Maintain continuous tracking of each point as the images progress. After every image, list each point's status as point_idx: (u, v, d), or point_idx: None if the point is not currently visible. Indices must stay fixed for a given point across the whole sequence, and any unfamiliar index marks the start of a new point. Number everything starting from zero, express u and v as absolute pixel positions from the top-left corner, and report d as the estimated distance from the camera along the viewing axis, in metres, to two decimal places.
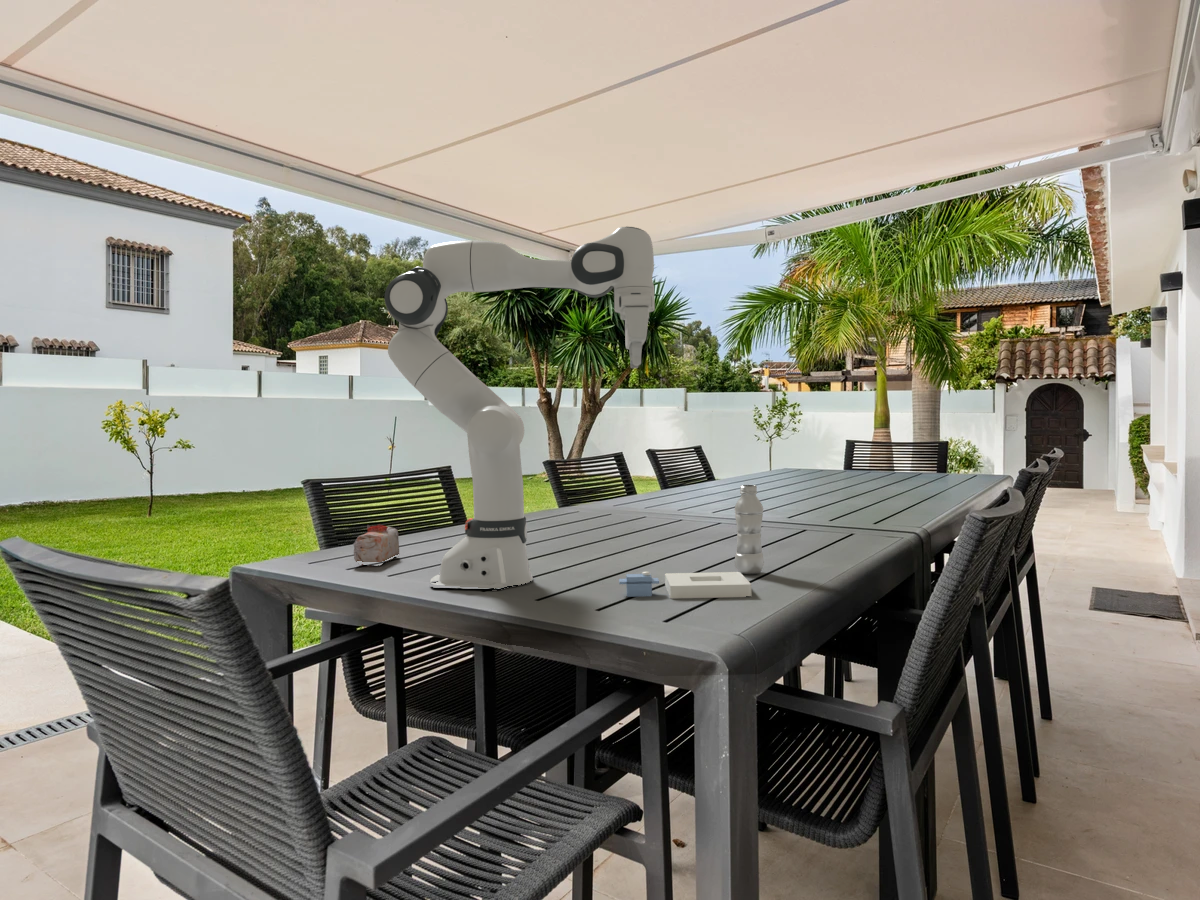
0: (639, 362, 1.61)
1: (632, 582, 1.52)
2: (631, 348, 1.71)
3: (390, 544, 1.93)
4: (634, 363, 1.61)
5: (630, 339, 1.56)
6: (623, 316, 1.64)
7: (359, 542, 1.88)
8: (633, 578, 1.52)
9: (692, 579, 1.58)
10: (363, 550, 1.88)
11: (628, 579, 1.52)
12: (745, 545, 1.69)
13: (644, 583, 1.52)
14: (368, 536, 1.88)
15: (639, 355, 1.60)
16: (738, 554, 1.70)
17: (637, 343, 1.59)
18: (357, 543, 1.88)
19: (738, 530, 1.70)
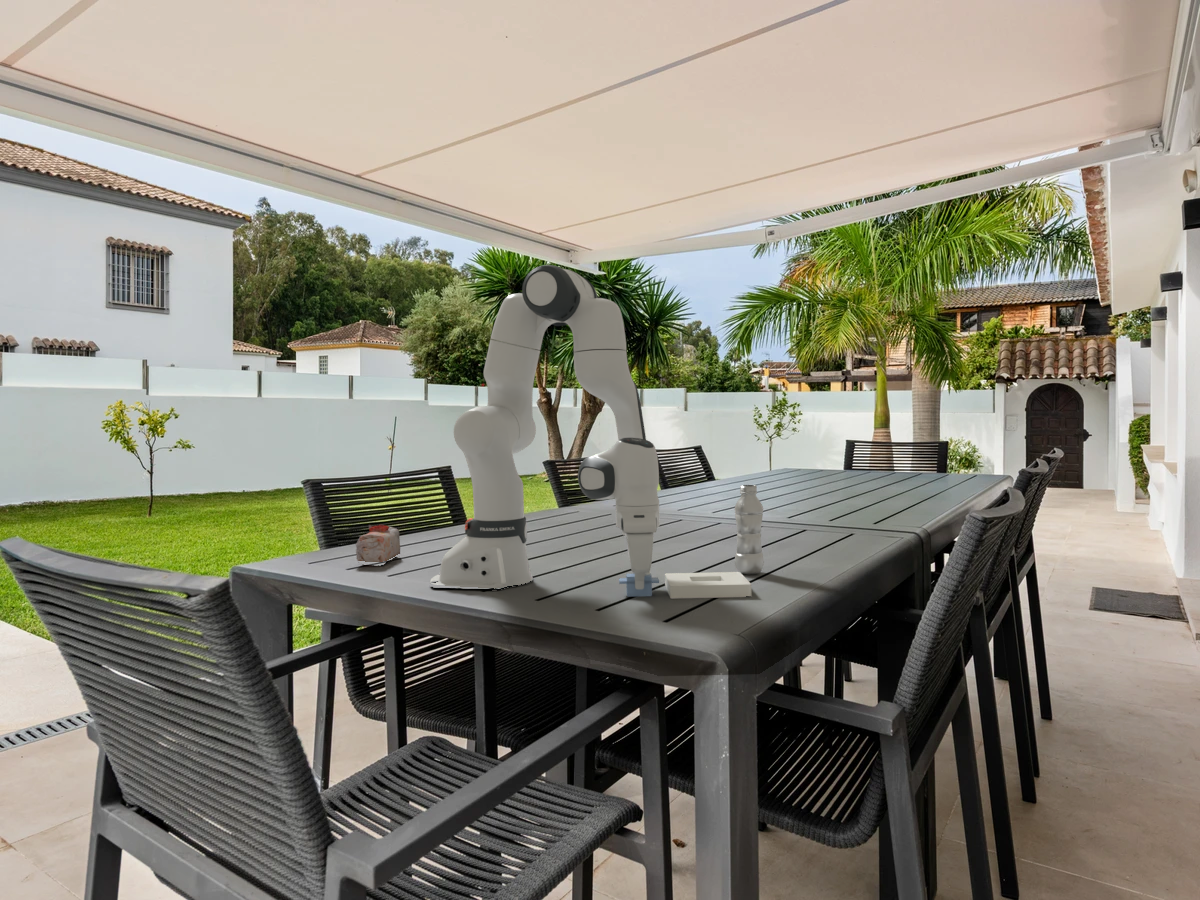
0: (642, 586, 1.50)
1: (632, 582, 1.52)
2: None
3: (392, 544, 1.93)
4: (637, 587, 1.50)
5: (633, 571, 1.44)
6: (625, 534, 1.51)
7: (361, 542, 1.88)
8: (633, 578, 1.52)
9: (692, 579, 1.58)
10: (366, 550, 1.88)
11: (628, 578, 1.52)
12: (745, 545, 1.69)
13: (644, 583, 1.52)
14: (371, 536, 1.88)
15: (642, 579, 1.50)
16: (738, 554, 1.70)
17: None
18: (360, 543, 1.88)
19: (738, 530, 1.70)
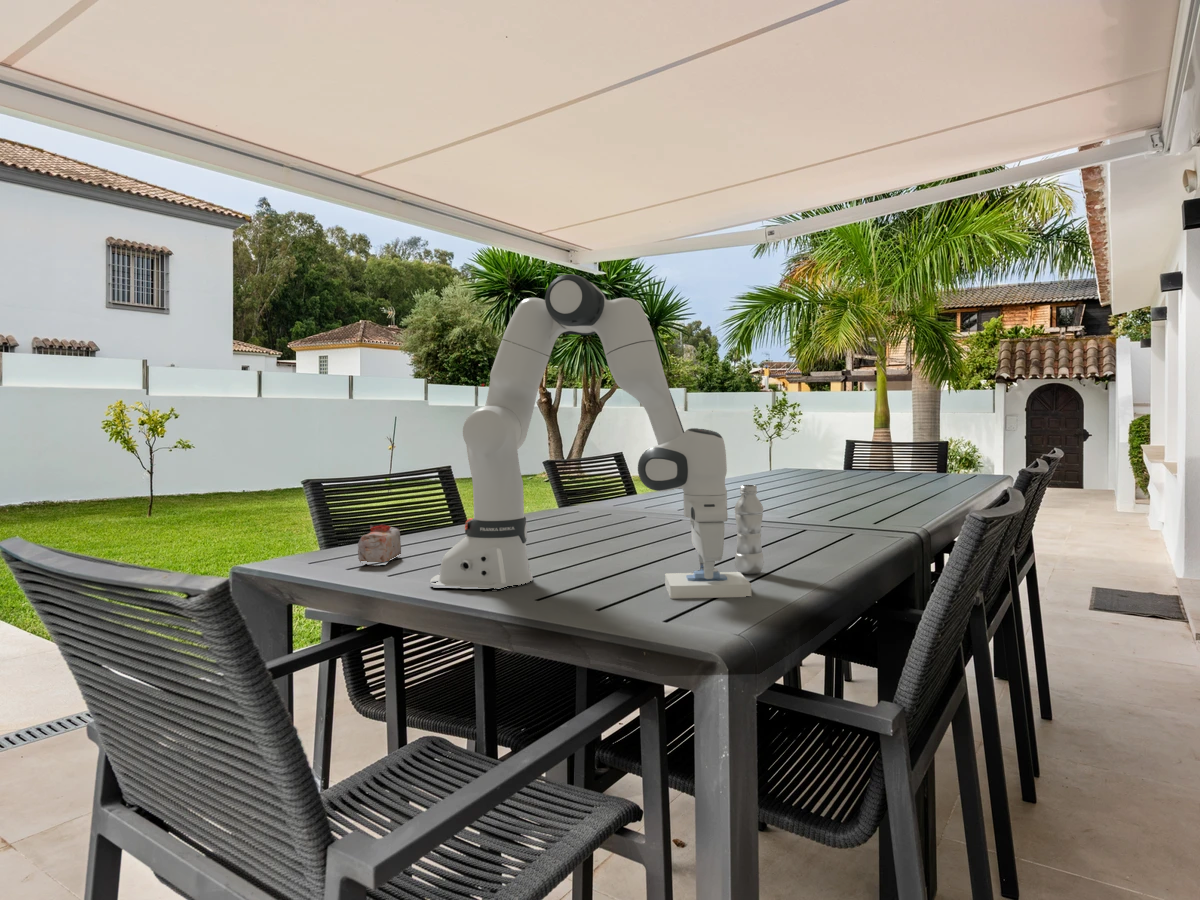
0: (711, 576, 1.51)
1: (700, 578, 1.54)
2: None
3: (393, 544, 1.93)
4: (706, 577, 1.51)
5: (705, 559, 1.46)
6: (694, 524, 1.53)
7: (363, 542, 1.88)
8: (701, 574, 1.54)
9: None
10: (368, 549, 1.88)
11: (697, 575, 1.54)
12: (745, 545, 1.69)
13: (712, 580, 1.54)
14: (372, 536, 1.88)
15: (711, 569, 1.51)
16: (738, 554, 1.70)
17: None
18: (362, 543, 1.88)
19: (738, 530, 1.70)
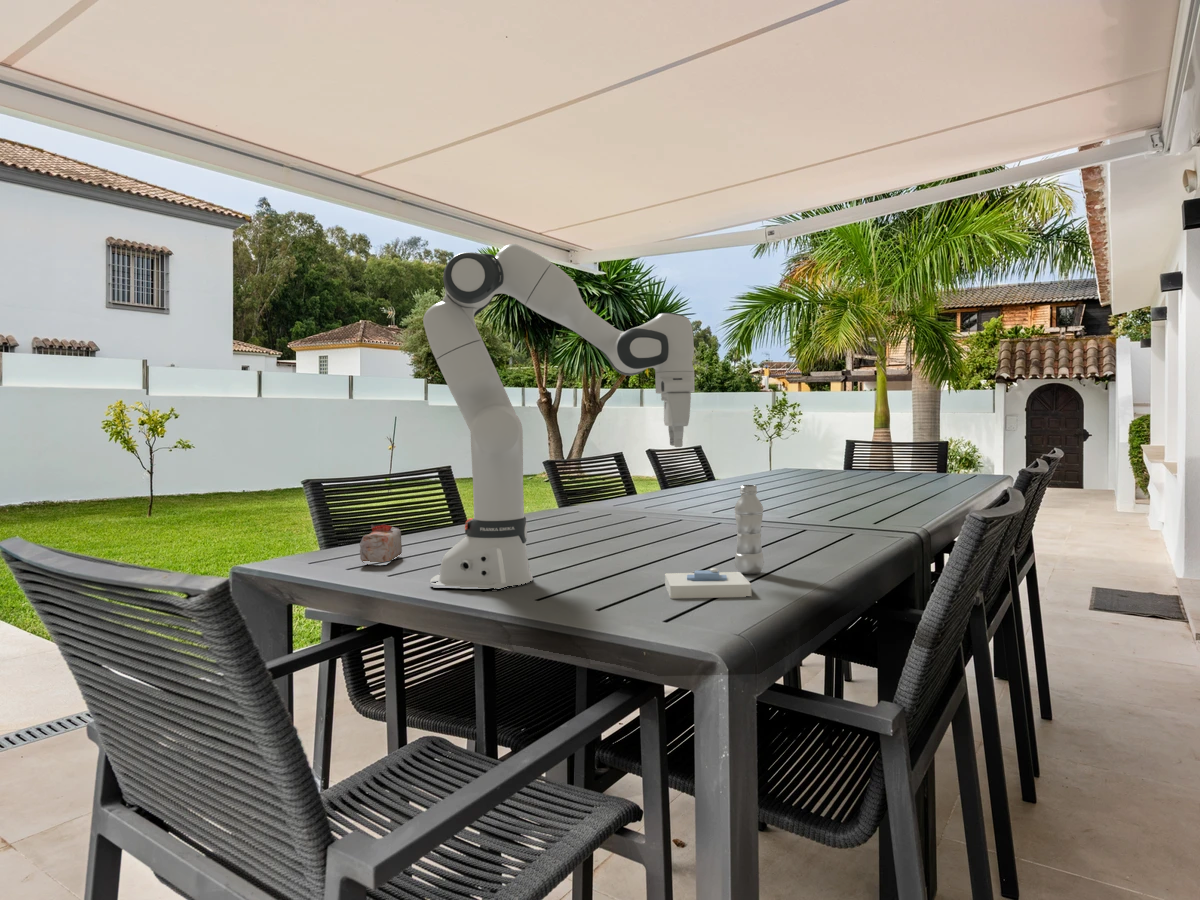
0: (680, 444, 1.67)
1: (700, 578, 1.54)
2: (670, 426, 1.77)
3: (395, 544, 1.94)
4: (676, 445, 1.67)
5: (673, 424, 1.62)
6: (664, 398, 1.70)
7: (366, 542, 1.88)
8: (701, 574, 1.54)
9: None
10: (370, 549, 1.88)
11: (696, 575, 1.54)
12: (745, 545, 1.69)
13: (711, 580, 1.54)
14: (375, 536, 1.88)
15: (681, 438, 1.66)
16: (738, 554, 1.70)
17: (679, 427, 1.65)
18: (364, 543, 1.88)
19: (738, 530, 1.70)
